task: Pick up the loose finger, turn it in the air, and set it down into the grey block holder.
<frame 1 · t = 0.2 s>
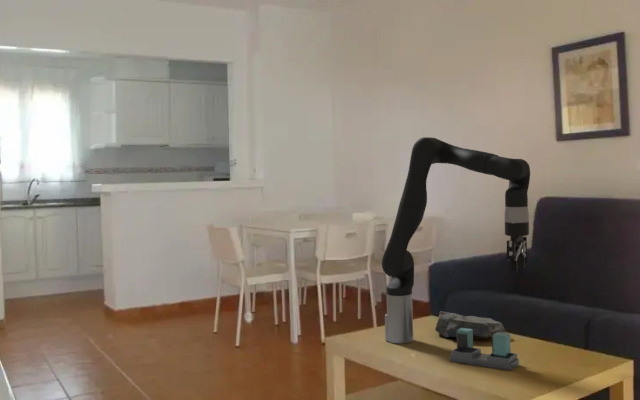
hand: (517, 270, 218), 28 cm above the table, fingers open, 8 cm apart
grey block holder: (484, 363, 214), on the table
loose finger: (465, 353, 226), on the table
stone: (469, 336, 251), on the table
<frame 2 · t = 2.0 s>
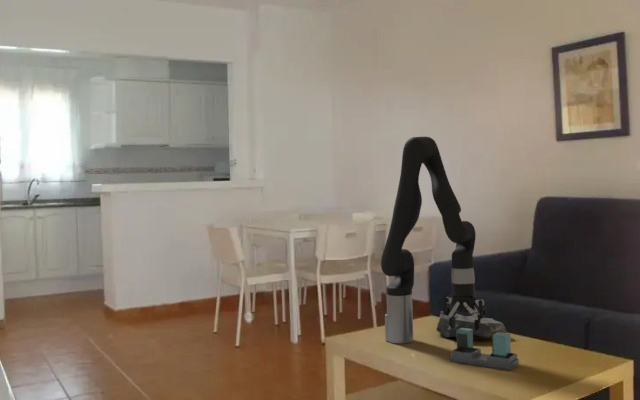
hand: (465, 329, 226), 8 cm above the table, fingers open, 8 cm apart
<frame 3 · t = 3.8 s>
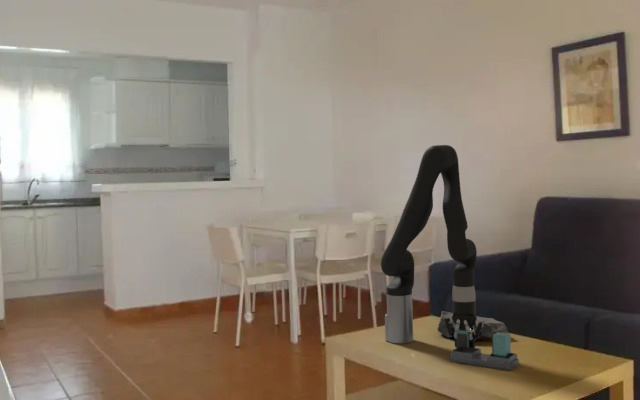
hand: (465, 349, 226), 1 cm above the table, fingers closed on loose finger, 4 cm apart
loose finger: (465, 353, 226), on the table, touching gripper
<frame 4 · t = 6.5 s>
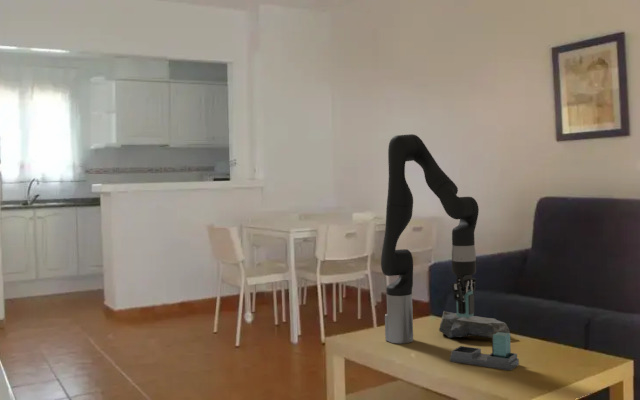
hand: (465, 311, 217), 16 cm above the table, fingers closed on loose finger, 4 cm apart
loose finger: (465, 316, 217), point 15 cm above the table, touching gripper
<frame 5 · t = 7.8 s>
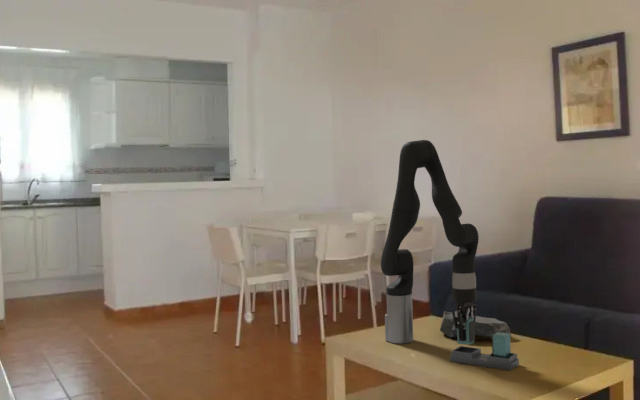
hand: (465, 338, 217), 7 cm above the table, fingers closed on loose finger, 4 cm apart
loose finger: (465, 342, 217), point 6 cm above the table, touching gripper
when the fingers open (4 cm above the table, at t = 9.2 s): loose finger stays where it is, resting on grey block holder.
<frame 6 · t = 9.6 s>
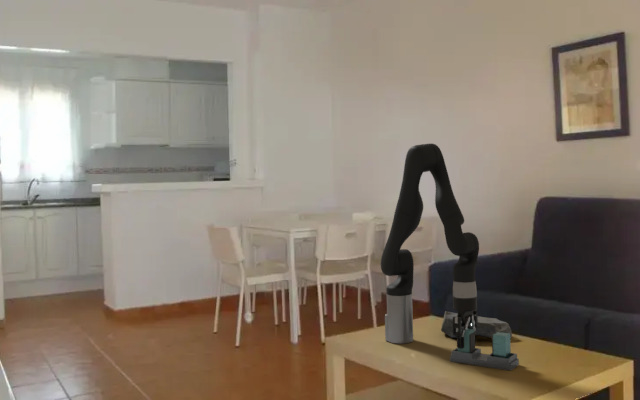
hand: (466, 345, 217), 5 cm above the table, fingers open, 7 cm apart
loose finger: (466, 354, 217), point 2 cm above the table, touching grey block holder
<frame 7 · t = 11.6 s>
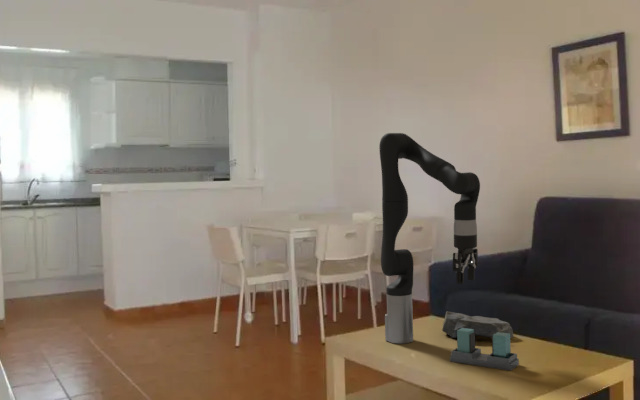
hand: (465, 281, 223), 24 cm above the table, fingers open, 8 cm apart
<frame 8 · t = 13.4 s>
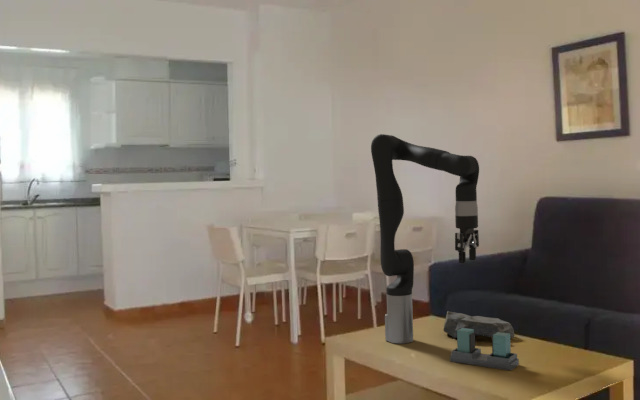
hand: (467, 261, 231), 30 cm above the table, fingers open, 8 cm apart
at the end: loose finger 0.1 cm from the target spot on the grey block holder, point 2.0 cm above the grey block holder's base; loose finger tilted 0°; the gripper is holding nothing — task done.
